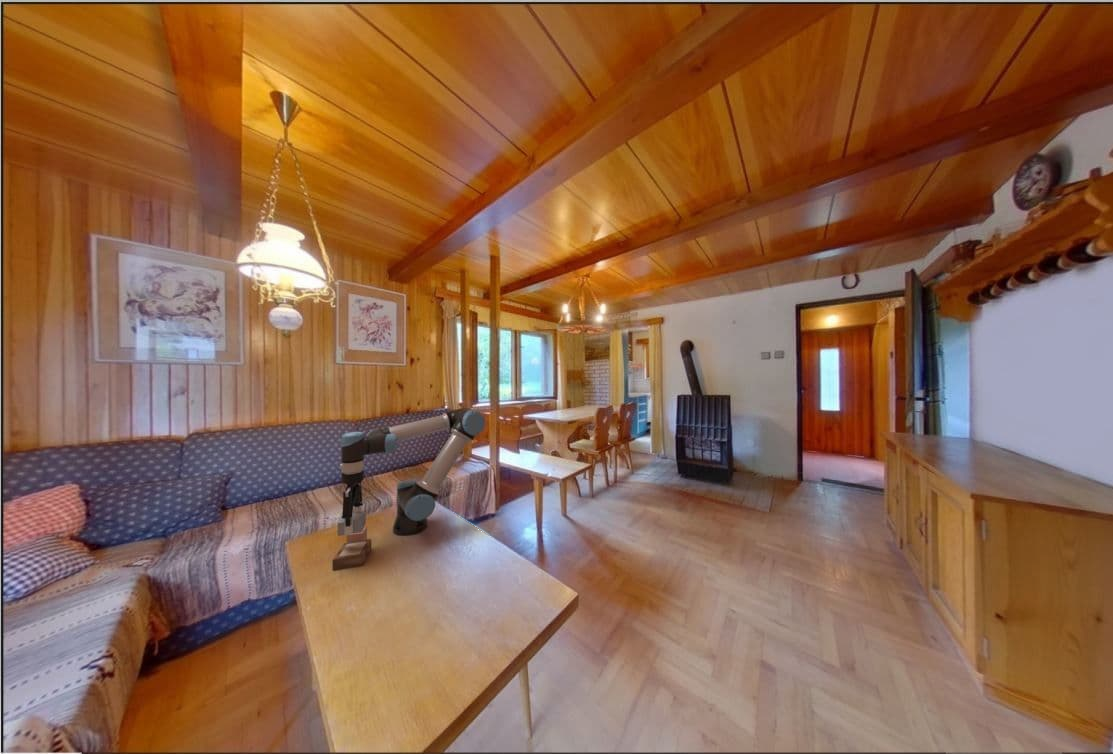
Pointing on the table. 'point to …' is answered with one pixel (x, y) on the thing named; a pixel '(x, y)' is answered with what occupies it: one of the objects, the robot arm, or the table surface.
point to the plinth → (352, 555)
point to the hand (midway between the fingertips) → (352, 527)
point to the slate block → (358, 523)
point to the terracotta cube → (357, 536)
